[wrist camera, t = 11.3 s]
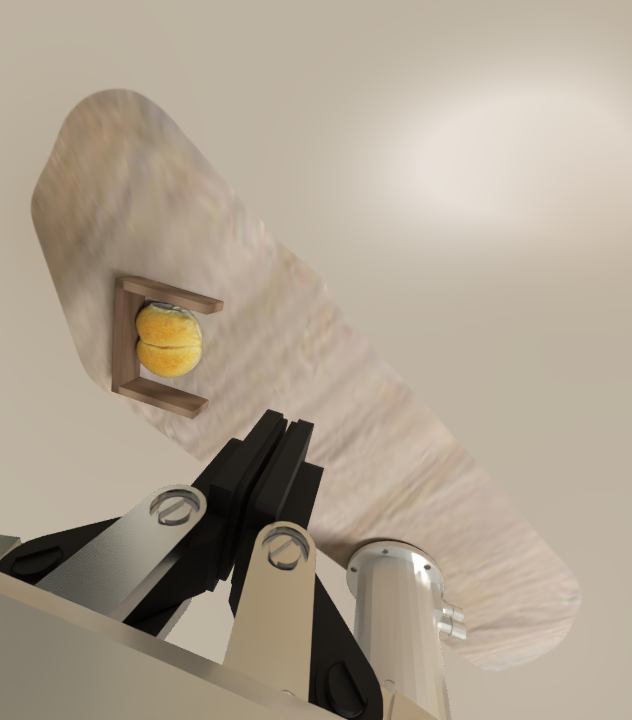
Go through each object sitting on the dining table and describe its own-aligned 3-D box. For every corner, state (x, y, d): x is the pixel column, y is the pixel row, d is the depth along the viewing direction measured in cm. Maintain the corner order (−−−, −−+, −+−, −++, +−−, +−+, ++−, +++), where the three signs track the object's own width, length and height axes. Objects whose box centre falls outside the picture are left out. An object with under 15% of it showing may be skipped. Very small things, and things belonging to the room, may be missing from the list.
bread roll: (145, 365, 42) (122, 375, 38) (147, 297, 39) (121, 300, 35) (203, 380, 41) (185, 392, 37) (209, 312, 38) (190, 317, 34)
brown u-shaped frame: (223, 301, 37) (207, 305, 34) (207, 406, 41) (192, 419, 38) (138, 276, 38) (115, 277, 35) (132, 381, 43) (111, 391, 39)
